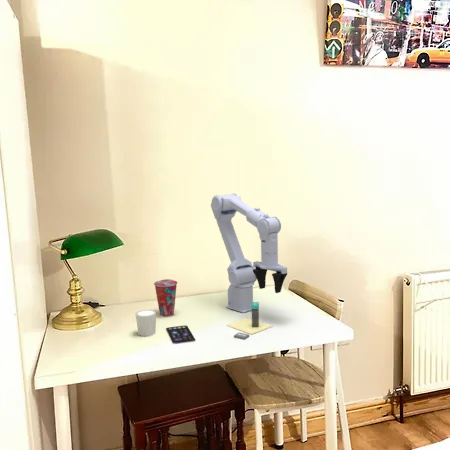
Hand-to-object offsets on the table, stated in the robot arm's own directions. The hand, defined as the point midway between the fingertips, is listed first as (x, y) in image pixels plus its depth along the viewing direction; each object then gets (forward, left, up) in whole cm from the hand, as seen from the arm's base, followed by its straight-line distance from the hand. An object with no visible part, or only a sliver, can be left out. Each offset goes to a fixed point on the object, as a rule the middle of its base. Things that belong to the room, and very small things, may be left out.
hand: (270, 290), depth 177 cm
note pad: (0, -11, -10) cm, 15 cm away
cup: (-31, -23, -11) cm, 40 cm away
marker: (+2, -10, -10) cm, 14 cm away
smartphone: (-11, -32, -11) cm, 35 cm away
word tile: (+5, -19, -10) cm, 22 cm away
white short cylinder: (-20, -39, -11) cm, 45 cm away
